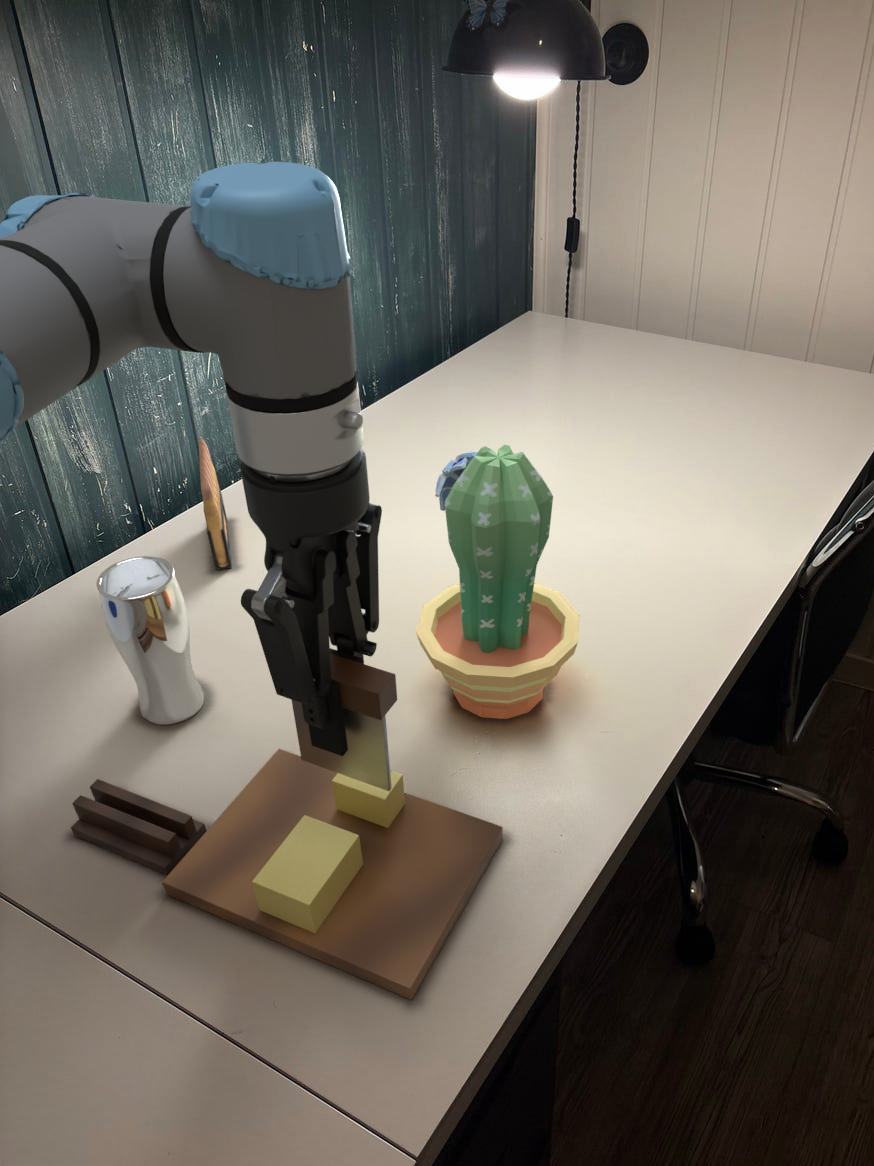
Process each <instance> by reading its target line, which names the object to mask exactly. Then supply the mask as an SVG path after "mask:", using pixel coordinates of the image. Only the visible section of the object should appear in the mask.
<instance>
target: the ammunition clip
mask: <svg viewBox="0 0 874 1166" xmlns="http://www.w3.org/2000/svg"><path fill="white" fill-rule="evenodd" d="M198 455H199V456H198V457H199V474H200V491H201V496H202V497H201V498H202V502H203V513H204V518H205V522H206V534H207V539H208V542H209V547H210V551H211V555H212V559H213V564H214V569H215V570H216V571H218V570H223V569H231V568H233V565H232V554H231V543H230V541H231V540H230V532H229V521H228V517H227V513H226V512H227V511H226V509H225V507H226V506H225V503H224V498H223V494H222V490H221V487H220V485H219V480H218V477H217V472H216V469H215V467H214V465H213V461H212V459H211V458H212V457H211V454H210V451H209V448H208V445H207V444H206V442H205V440H204V439H203V438H202V437H200V438H199V441H198Z"/></svg>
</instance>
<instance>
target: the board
mask: <svg viewBox="0 0 874 1166" xmlns="http://www.w3.org/2000/svg"><path fill="white" fill-rule="evenodd" d="M336 775H337V772H334V771H331V770H328V769H325V768H323V767H320V766H317V765H314V764H312V763H309V762H306V761H303V760H302V759H301V755H298V754H296V753H293V752H290V751H287V750H284V749H281V748H278V749H277V750H276V751H275V753H273V755H272V756H271V757H269V759H268V760H267V762H265V764H264V765H263V766H262V767H261V769H259V771H258V772H256V774H255V776H253V778H252V779H251V780H250V781H249V782H248V784H246V786H244V788H243V789H242V790H241V791H240V792H239V794H238V795H237V796H236V797H235V798H234V799H233V800H232V802H231V803H230V804H228V806H227V807H226V808H225V809H224V811H222V813H221V814H220V815H219V816H218V817H217V818H216V820H215V821H214V822H213V823H212V824H211V825H210V827H208V829H206V832H205V833H204V834H203V836H202V837H201V838H200V839H199V840H198V841H197V842H196V844H195V845H194V846H193V847H192V848H191V849H190V850H189V851H188V853H187V854H186V855H185V856H184V857H183V858H182V859H181V861H180V862H179V863H178V864H177V865H176V866H175V867H174V869H173V870H172V871H171V872H170V873H169V874H168V875H166V877H165V878H164V879H163V880H162V881H161V884H162V886H163V890H164V893H165V894H166V895H168V896H170V897H173V898H176V899H177V900H180V901H182V902H184V903H187V904H189V905H191V906H194V907H196V908H198V909H201V910H203V911H205V912H207V913H210V914H212V915H215V916H217V917H219V918H221V919H224V920H226V921H228V922H231V923H232V924H235V925H238V926H240V927H242V928H244V929H246V930H249V931H251V932H254V933H256V934H258V935H261V936H263V937H264V938H265V937H266V938H267V939H270V940H272V941H275V942H277V943H279V944H282V945H284V946H286V947H289V948H290V949H292V950H296V951H297V952H299V953H303V954H305V955H307V956H309V957H311V958H313V959H317V960H318V961H321V962H323V963H326V964H328V965H330V966H332V967H335V968H337V969H339V970H341V971H344V972H345V973H349V974H351V975H353V976H356V977H357V978H360V979H362V980H365V981H367V982H369V983H370V984H371V983H372V984H374V985H376V986H378V987H380V988H383V989H385V990H387V991H390V992H392V993H395V994H397V995H399V996H402V997H404V998H406V999H408V1000H413V998H414V997H415V995H416V993H417V991H418V989H419V988H420V986H421V984H422V982H423V980H425V977H426V975H427V973H428V972H429V970H430V968H431V966H432V964H433V963H434V962H435V959H436V957H437V956H438V954H439V952H440V950H441V949H442V947H443V945H444V943H445V942H446V940H447V938H448V936H449V935H450V933H451V931H452V929H453V927H454V926H455V924H456V922H457V920H458V918H459V917H460V915H461V913H462V911H463V910H464V908H465V906H466V904H467V902H468V901H469V899H470V897H471V895H472V894H473V892H474V890H475V888H476V887H477V885H478V883H479V881H480V880H481V878H482V876H483V874H484V873H485V870H487V867H488V865H489V864H490V862H491V859H493V856H494V855H495V853H496V852H497V850H498V848H499V846H500V845H501V843H502V841H503V839H504V835H503V832H504V831H503V830H504V828H503V825H502V826H501V825H498V824H495V823H493V822H490V821H487V820H484V819H482V818H479V817H475V816H472V815H470V814H467V813H464V812H461V811H458V810H456V809H453V808H450V807H447V806H444V805H442V804H439V803H436V802H432V801H430V800H427V799H425V798H422V797H418V796H416V795H413V794H410V793H407V792H404V794H405V804H404V806H403V807H402V809H401V810H400V812H399V813H398V815H397V816H396V818H395V819H394V820H393V822H392V823H391V825H390V826H389V828H386V827H384V826H381V825H378V824H375V823H373V822H370V821H367V820H364V819H362V818H359V817H356V816H354V815H351V814H348V813H345V812H343V811H340V810H337V809H336V804H335V798H334V792H333V785H332V780H333V779H334V777H335V776H336ZM304 815H306V816H308V817H311V818H314V819H316V820H319V821H322V822H324V823H327V824H330V825H332V826H335V827H338V828H340V829H343V830H346V831H348V832H351V833H354V834H356V835H359V839H360V845H361V852H362V859H363V865H362V867H361V868H360V869H359V871H358V872H357V874H356V875H355V877H354V878H353V880H352V881H351V882H350V884H349V885H348V887H347V888H346V890H345V891H344V893H343V894H342V895H341V897H340V898H339V900H338V901H337V903H336V904H335V906H334V907H333V909H332V910H331V911H330V913H329V914H328V916H327V917H326V919H325V920H324V922H323V923H322V924H321V926H320V927H319V929H318V930H317V932H316V933H312V932H310V931H308V930H305V929H303V928H301V927H298V926H296V925H294V924H291V923H289V922H286V921H284V920H282V919H279V918H277V917H275V916H272V915H270V914H268V913H265V912H263V911H260V910H259V906H258V902H257V899H256V895H255V891H254V887H253V884H252V881H253V880H254V878H255V877H256V876H257V875H258V873H259V872H260V871H261V870H262V868H263V867H264V866H265V864H266V863H267V862H268V861H269V859H270V858H271V857H272V856H273V854H274V853H275V852H276V851H277V849H278V848H279V847H280V845H281V844H282V843H283V842H284V840H285V839H286V838H287V837H288V835H289V834H290V833H291V831H292V830H293V829H294V828H295V826H296V825H297V824H298V823H299V821H300V820H301V819H302V818H303V816H304Z"/></svg>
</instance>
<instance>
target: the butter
mask: <svg viewBox="0 0 874 1166" xmlns="http://www.w3.org/2000/svg"><path fill="white" fill-rule="evenodd" d="M362 865H363V859H362V852H361V845H360V839H359V835H356V834H354V833H351V832H348V831H346V830H343V829H340V828H338V827H335V826H332V825H330V824H327V823H324V822H322V821H319V820H316V819H314V818H311V817H308V816H306V815H304V816H303V818H302V819H301V820H300V821H299V823H298V824H297V825H296V826H295V828H294V829H293V830H292V831H291V833H290V834H289V835H288V837H287V838H286V839H285V840H284V842H283V843H282V844H281V845H280V847H279V848H278V849H277V851H276V852H275V853H274V854H273V856H272V857H271V858H270V859H269V861H268V862H267V863H266V864H265V866H264V867H263V868H262V870H261V871H260V872H259V873H258V875H257V876H256V877H255V878H254V880H253V881H252V884H253V887H254V891H255V895H256V899H257V902H258V906H259V910H260V911H263V912H265V913H268V914H270V915H272V916H275V917H277V918H279V919H282V920H284V921H286V922H289V923H291V924H294V925H296V926H298V927H301V928H303V929H305V930H308V931H310V932H312V933H316V932H317V930H318V929H319V927H320V926H321V924H322V923H323V922H324V920H325V919H326V917H327V916H328V914H329V913H330V911H331V910H332V909H333V907H334V906H335V904H336V903H337V901H338V900H339V898H340V897H341V895H342V894H343V893H344V891H345V890H346V888H347V887H348V885H349V884H350V882H351V881H352V880H353V878H354V877H355V875H356V874H357V872H358V871H359V869H360V868H361V867H362Z"/></svg>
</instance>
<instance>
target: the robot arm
mask: <svg viewBox="0 0 874 1166" xmlns="http://www.w3.org/2000/svg"><path fill="white" fill-rule="evenodd" d="M190 203H191V204H190V205H178V204H169V203H168V204H167V203H158V202H146V201H137V200H127V199H116V198H106V197H99V196H98V195H93V194H90V195H88V194H86V193H84V192H66V193H64V194H62V195H61V194H60V195H58V194H57V195H45V194H40V195H39V194H37V195H30V196H29V195H28V196H26V197H24V198H22V199H20V200H17V201H16V202H14V203H12V204H11V205H10V207H9V208H8V209H6V215H5V217H4V219H3V221H1V223H0V443H1V442H2V441H4V440H5V439H6V438H7V437H9V436H11V433H12V432H13V431H14V430H15V429H16V428H18V427H19V426H20V425H23V424H24V423H25V422H27V421H28V420H29V419H31V418H32V417H34V416H36V415H37V414H38V413H40V412H41V411H43V410H44V409H46V408H47V407H49V406H50V405H51V404H53V403H54V402H56V401H58V400H59V399H60V398H62V397H63V396H65V395H66V394H69V393H70V392H72V391H74V390H75V389H76V388H77V387H79V386H81V385H83V384H84V383H86V382H88V381H89V380H91V379H92V378H94V377H95V376H97V375H98V374H100V373H102V372H103V371H105V370H106V369H108V368H110V367H111V366H112V365H114V364H116V363H117V362H118V361H120V360H121V359H123V358H125V357H126V356H127V355H129V354H130V353H132V352H133V351H136V350H137V349H142V348H157V349H166V350H172V351H182V352H189V353H199V354H205V353H210V354H215V355H217V356H218V361H219V364H220V369H221V374H222V378H223V382H224V387H225V393H226V399H227V406H228V411H229V418H230V423H231V430H232V434H233V440H234V446H235V452H236V454H237V456H238V458H239V460H240V461H241V462H240V475H241V480H242V486H243V491H244V497H245V502H246V507H247V512H248V515H249V517H250V519H251V520H252V522H253V523H254V524H255V525H256V527H257V528H258V529H259V531H260V532H261V533H262V535H263V537H265V538H264V539H265V551H264V556H263V557H264V558H263V561H264V562H263V564H264V567H265V569H266V571H267V573H266V574H265V577H264V578H263V581H262V583H261V584H260V585H259V588H258V589H257V590H256V589H252V588H246V589H244V591H242V594H241V597H240V605H241V607H242V608H243V610H245V612H247V614H248V615H249V616H250V617H251V618H252V620H253V622H254V625H255V629H256V632H257V635H258V638H259V642H260V645H261V649H262V651H263V655H264V658H265V661H266V664H267V667H268V670H269V675H270V677H271V681H272V683H273V687H274V690H275V693H276V695H277V696H281V697H283V698H286V699H289V700H291V701H292V700H294V701H297V702H300V703H302V709H303V714H304V720H305V722H306V723H307V724H308V726H309V732H310V738H311V744H312V746H314V747H317V748H320V749H323V750H326V751H329V752H332V753H334V754H337V755H340V756H344V754H345V753H346V752H347V751H348V745H347V738H346V730H345V723H344V715H343V708H342V701H341V693H340V685H339V684H337V683H334V682H331V665H330V654H333V655H336V656H340V657H343V658H346V659H349V660H352V661H356V662H359V663H362V664H365V660H364V659H365V658H364V656H367V657H370V658H371V657H373V656H374V654H375V653H376V651H377V647H378V646H377V645H378V643H377V642H374V641H371V640H368V634H369V632H370V633H375V632H377V631H378V629H379V625H380V590H379V589H380V588H379V581H380V580H379V533H380V527H381V520H382V513H383V510H382V506H381V505H379V504H375V503H371V502H370V501H371V500H370V499H371V498H370V496H371V495H370V485H369V475H368V474H369V473H368V464H367V463H368V462H367V456H366V453H365V451H364V449H363V445H364V438H365V437H364V431H363V430H364V429H363V424H364V418H363V415H362V408H361V400H360V389H359V371H358V366H357V357H356V343H355V341H356V340H355V331H354V329H355V328H354V314H353V301H352V299H353V298H352V286H351V275H352V271H351V268H352V258H351V255H350V253H349V251H348V245H347V241H346V240H347V239H346V234H345V227H344V226H345V225H344V219H343V213H342V208H341V207H342V206H341V199H340V195H339V192H338V188H337V186H336V184H335V183H334V182H333V180H332V179H331V178H330V177H329V176H328V175H327V174H325V173H324V172H323V171H322V170H319V169H318V168H317V167H313V166H310V165H307V164H302V163H296V162H286V161H268V162H240V163H233V164H228V165H223V166H219V167H215V168H213V169H210V170H207V171H205V172H203V173H201V174H200V175H199V176H197V178H195V180H194V181H193V184H192V186H191V188H190ZM363 610H364V612H363ZM330 644H331V645H332V646H334V647H336V649H334V648H332V647H330Z"/></svg>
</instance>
